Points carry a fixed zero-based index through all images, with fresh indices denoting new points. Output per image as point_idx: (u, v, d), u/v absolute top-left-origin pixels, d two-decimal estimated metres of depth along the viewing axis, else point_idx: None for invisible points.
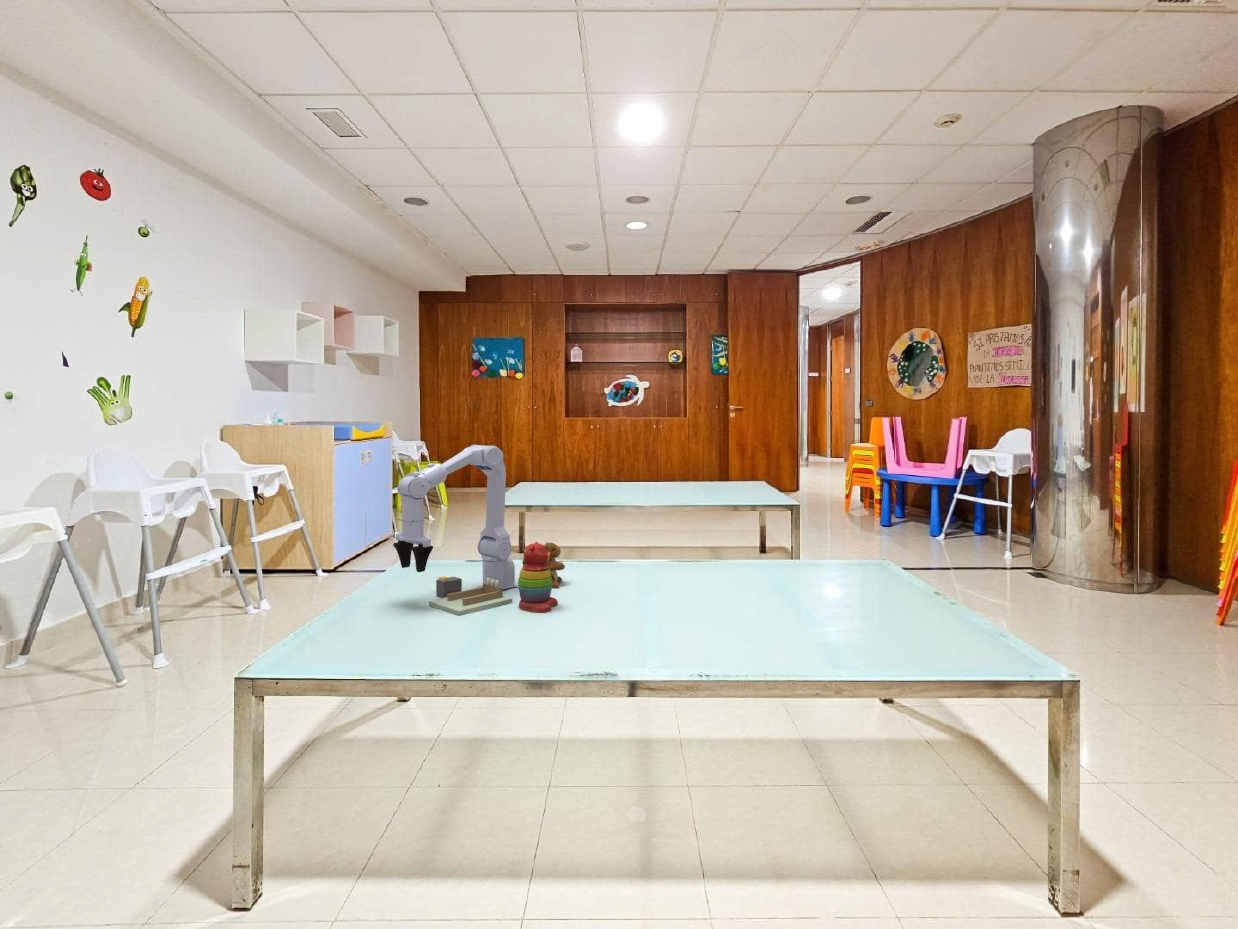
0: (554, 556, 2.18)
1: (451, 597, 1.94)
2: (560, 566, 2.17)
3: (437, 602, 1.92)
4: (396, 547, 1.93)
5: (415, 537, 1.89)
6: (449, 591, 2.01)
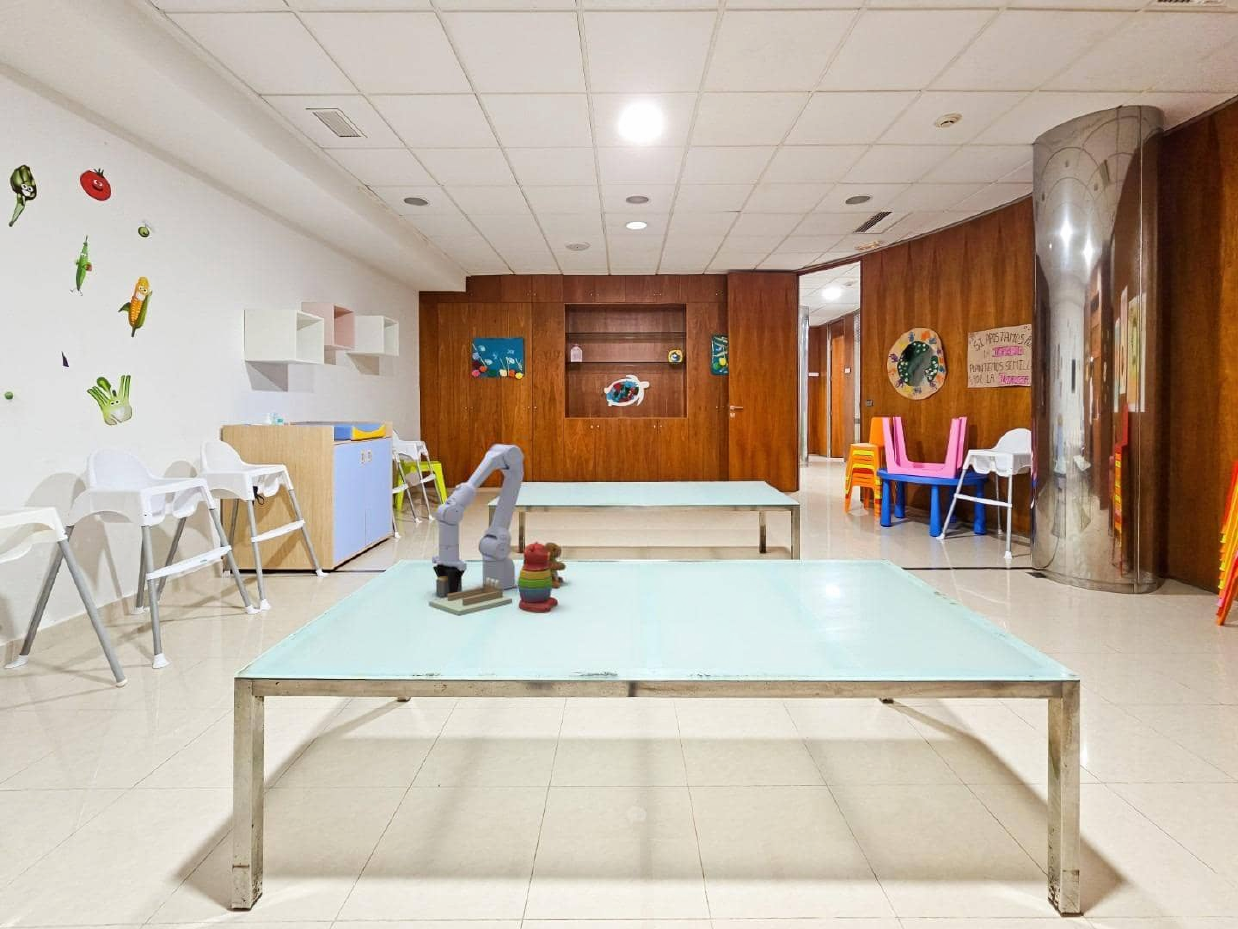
0: (555, 556, 2.18)
1: (451, 597, 1.94)
2: (560, 567, 2.16)
3: (437, 602, 1.92)
4: (436, 571, 2.04)
5: (451, 561, 2.01)
6: (449, 590, 2.01)
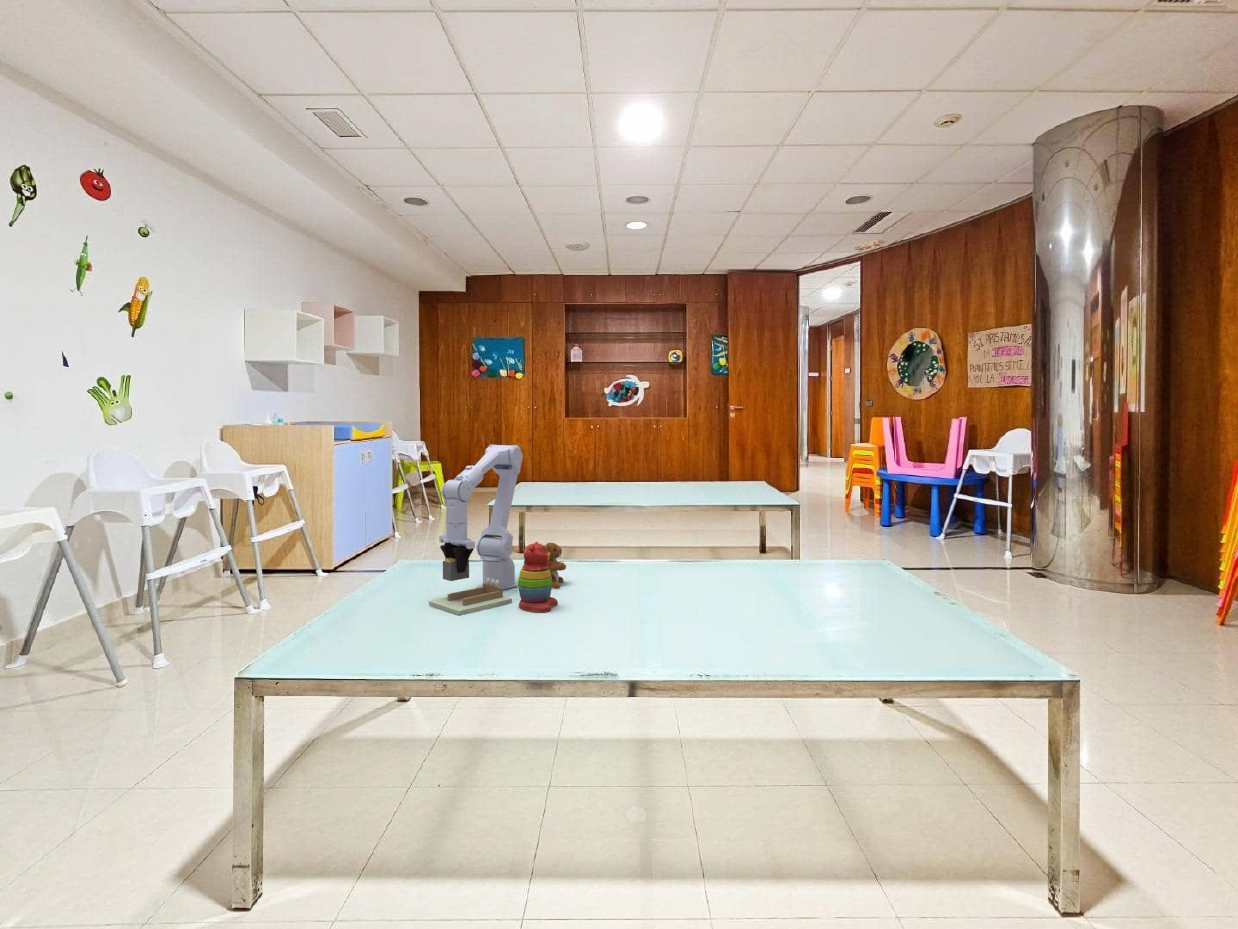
0: (555, 556, 2.18)
1: (451, 597, 1.94)
2: (561, 567, 2.16)
3: (437, 602, 1.92)
4: (443, 550, 1.96)
5: (459, 539, 1.93)
6: (456, 573, 1.93)
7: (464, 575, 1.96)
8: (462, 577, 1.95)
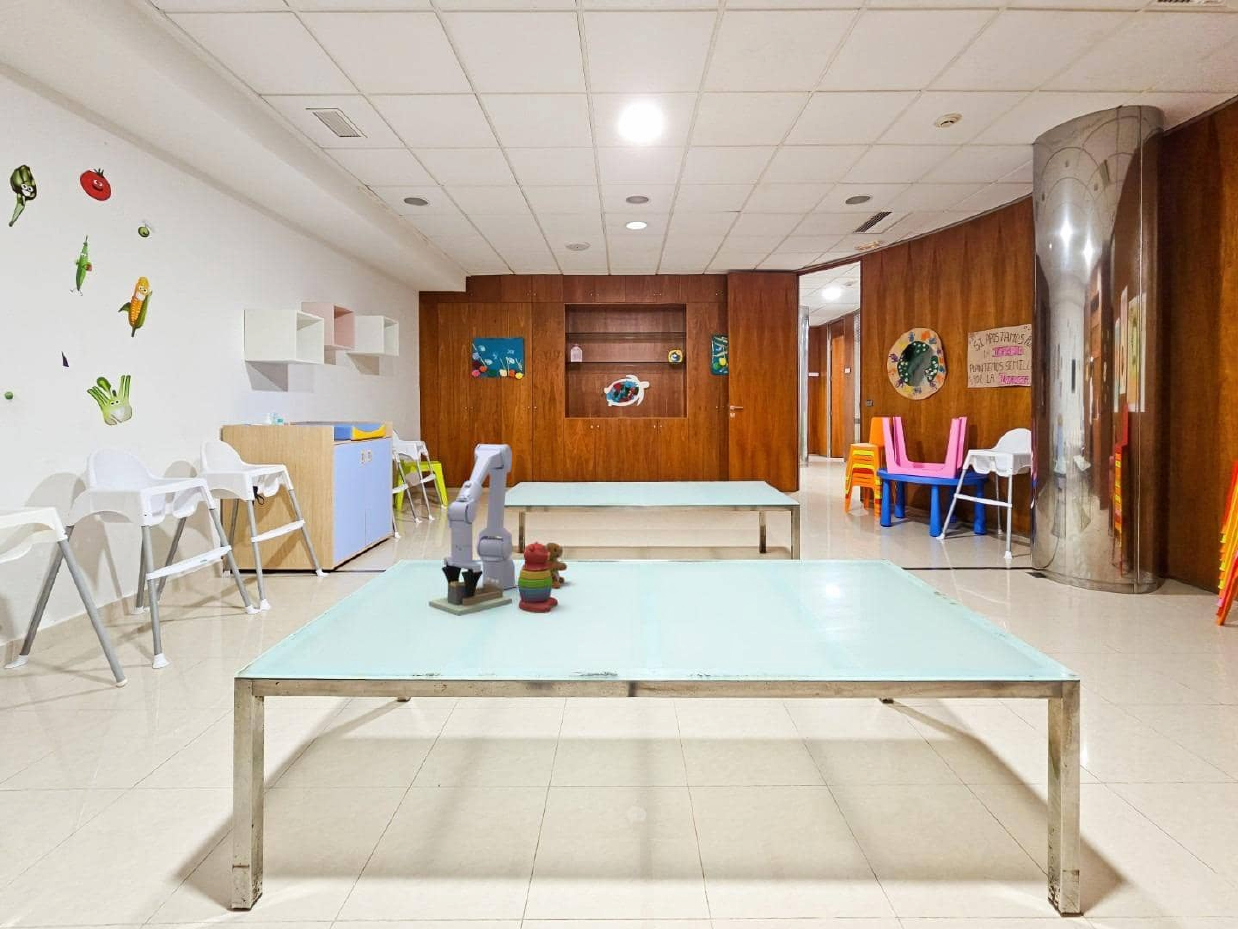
0: (556, 556, 2.17)
1: None
2: (561, 567, 2.16)
3: (437, 602, 1.92)
4: (445, 571, 1.94)
5: (465, 562, 1.89)
6: (461, 597, 1.90)
7: None
8: None
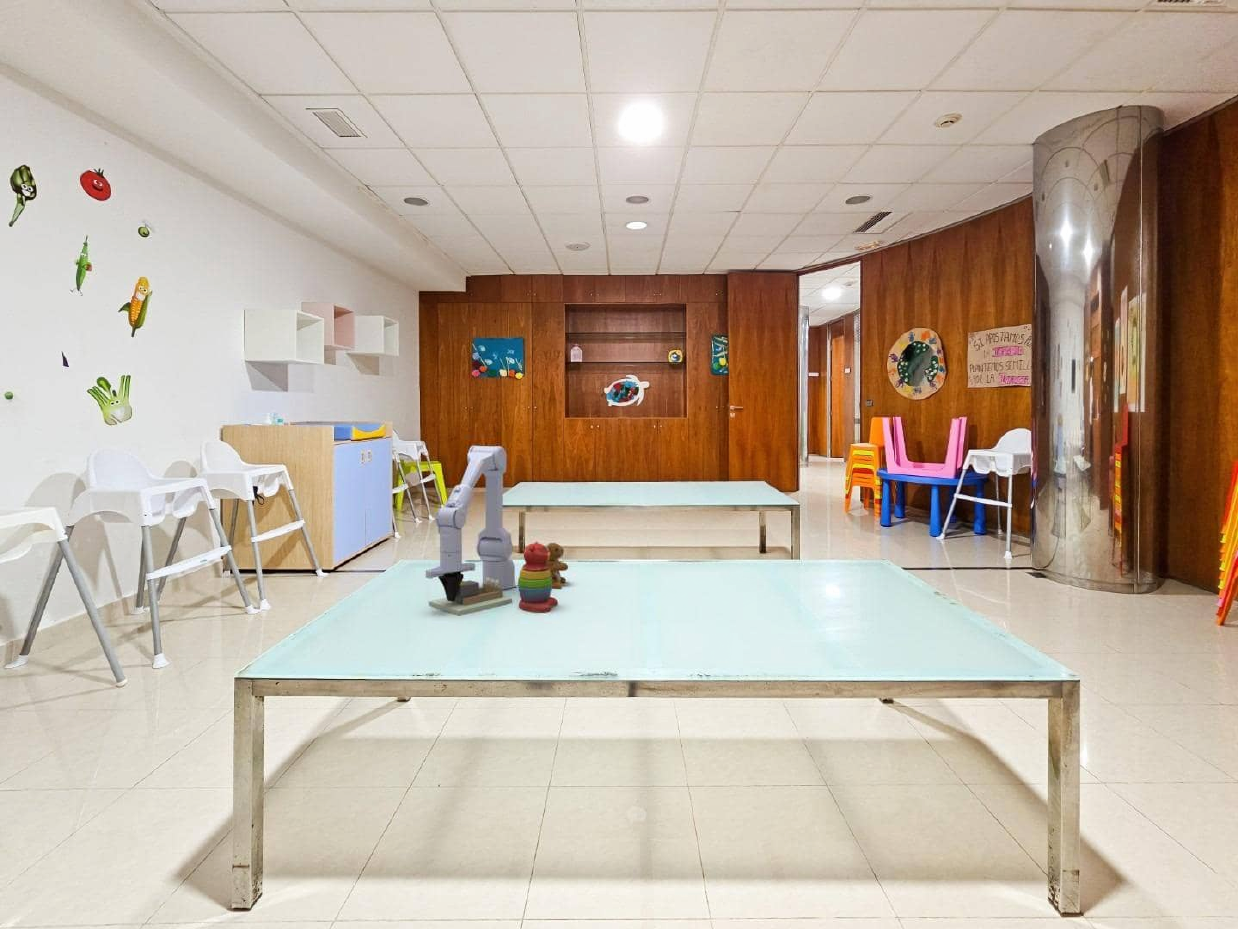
0: (557, 556, 2.17)
1: None
2: (562, 567, 2.16)
3: (437, 602, 1.92)
4: None
5: (440, 567, 1.88)
6: (465, 596, 1.91)
7: None
8: None
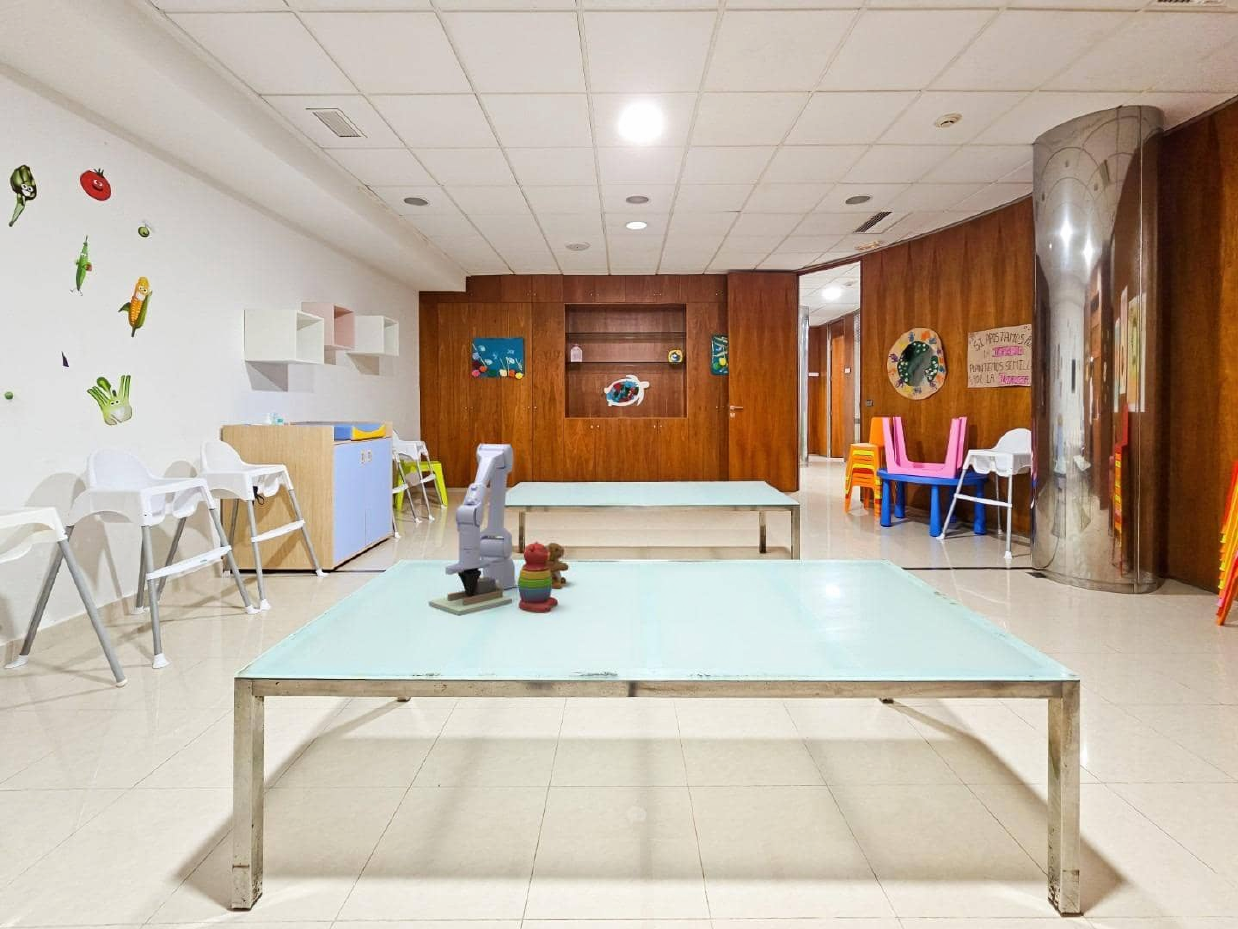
0: (557, 557, 2.17)
1: (451, 597, 1.94)
2: (563, 567, 2.16)
3: (437, 602, 1.92)
4: None
5: (459, 564, 1.92)
6: (483, 592, 1.95)
7: None
8: None
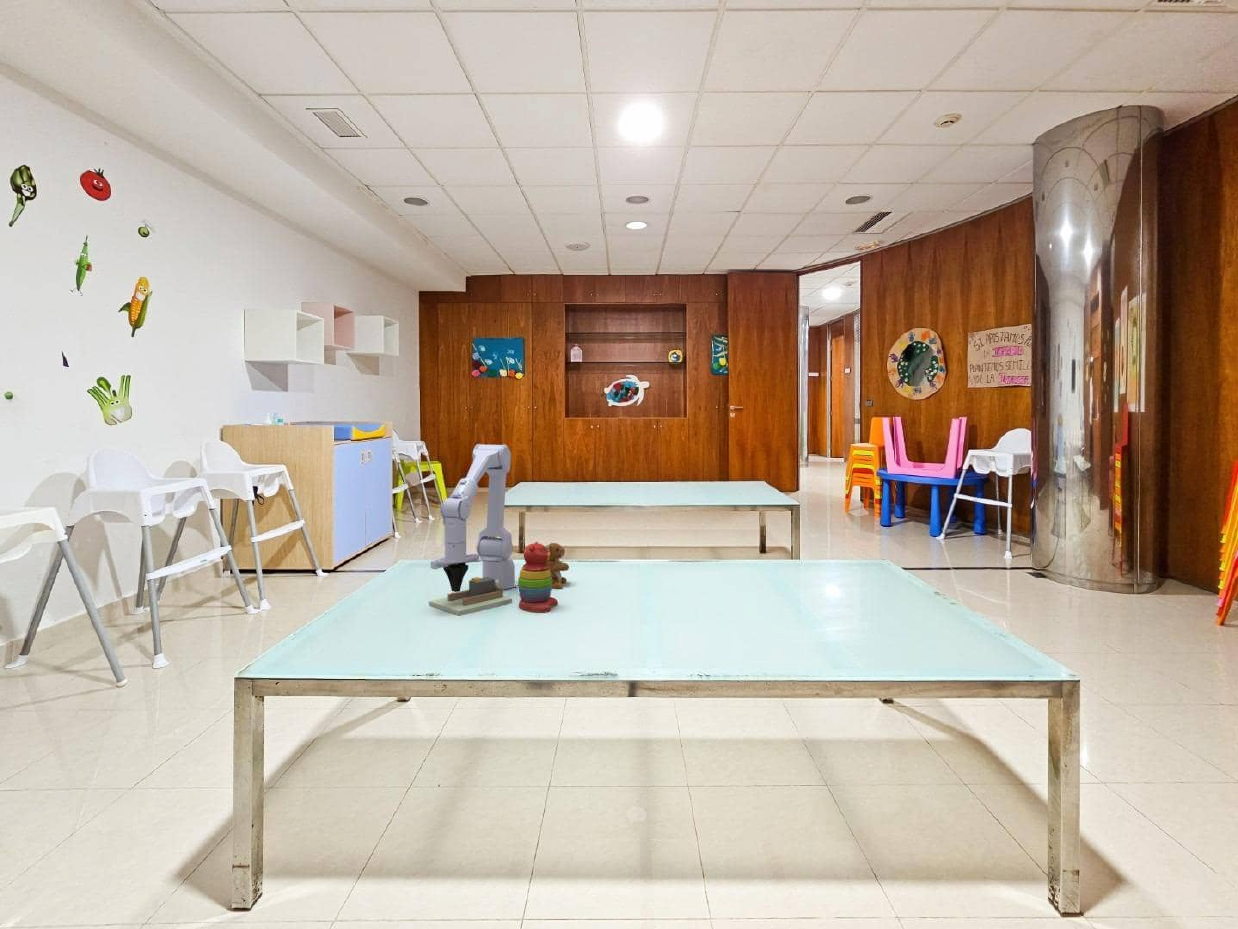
0: (558, 557, 2.17)
1: (451, 597, 1.94)
2: (563, 567, 2.16)
3: (437, 602, 1.92)
4: None
5: (445, 558, 1.89)
6: (482, 592, 1.95)
7: None
8: None
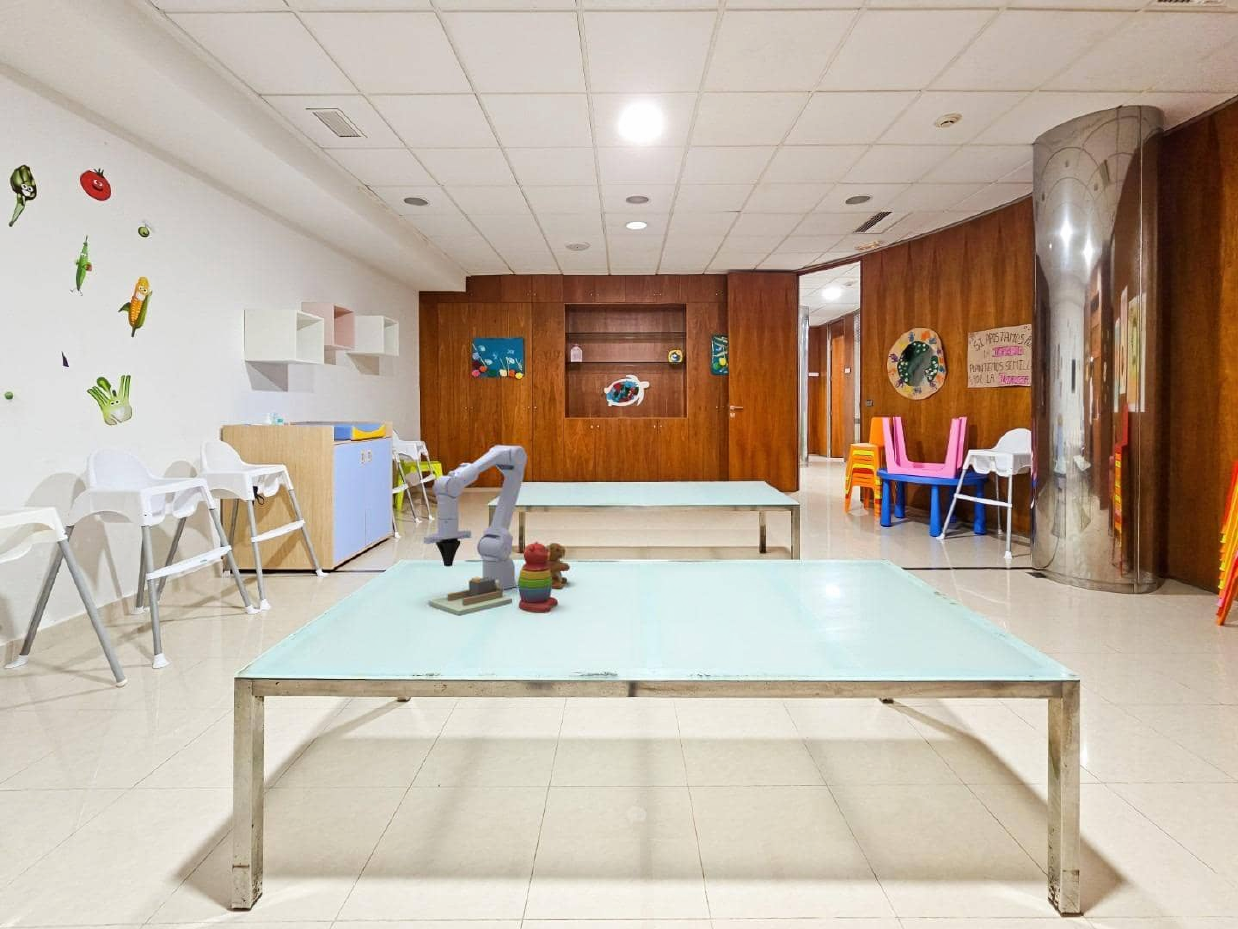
0: (558, 557, 2.17)
1: (451, 597, 1.94)
2: (564, 567, 2.16)
3: (437, 602, 1.92)
4: None
5: (437, 534, 1.96)
6: (482, 592, 1.95)
7: None
8: None
